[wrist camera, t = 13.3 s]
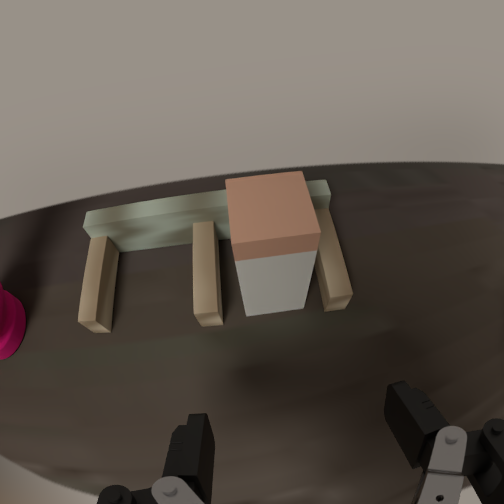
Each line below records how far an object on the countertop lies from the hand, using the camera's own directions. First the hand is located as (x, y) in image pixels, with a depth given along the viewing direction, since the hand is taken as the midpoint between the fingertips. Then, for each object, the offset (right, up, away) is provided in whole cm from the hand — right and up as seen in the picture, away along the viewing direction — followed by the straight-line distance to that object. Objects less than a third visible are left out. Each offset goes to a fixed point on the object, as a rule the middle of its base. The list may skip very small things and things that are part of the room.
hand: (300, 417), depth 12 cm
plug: (-1, +5, +10) cm, 11 cm away
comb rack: (-5, +5, +11) cm, 13 cm away
